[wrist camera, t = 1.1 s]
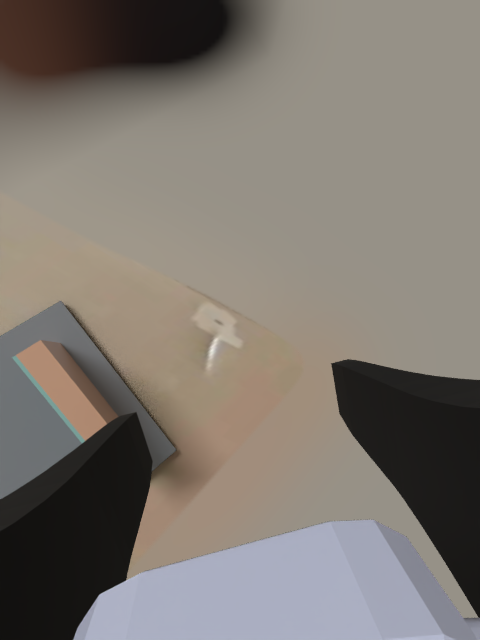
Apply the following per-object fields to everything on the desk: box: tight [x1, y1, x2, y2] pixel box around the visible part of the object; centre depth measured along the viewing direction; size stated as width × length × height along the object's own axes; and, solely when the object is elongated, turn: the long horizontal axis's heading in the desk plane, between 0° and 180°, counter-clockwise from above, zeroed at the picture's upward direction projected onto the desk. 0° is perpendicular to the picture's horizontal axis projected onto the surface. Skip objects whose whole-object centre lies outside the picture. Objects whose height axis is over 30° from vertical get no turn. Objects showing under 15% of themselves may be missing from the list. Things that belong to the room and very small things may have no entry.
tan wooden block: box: [12, 340, 118, 443], centre depth 20 cm, size 2×9×5 cm, turn 38°
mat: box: [0, 301, 176, 499], centre depth 21 cm, size 12×14×1 cm
